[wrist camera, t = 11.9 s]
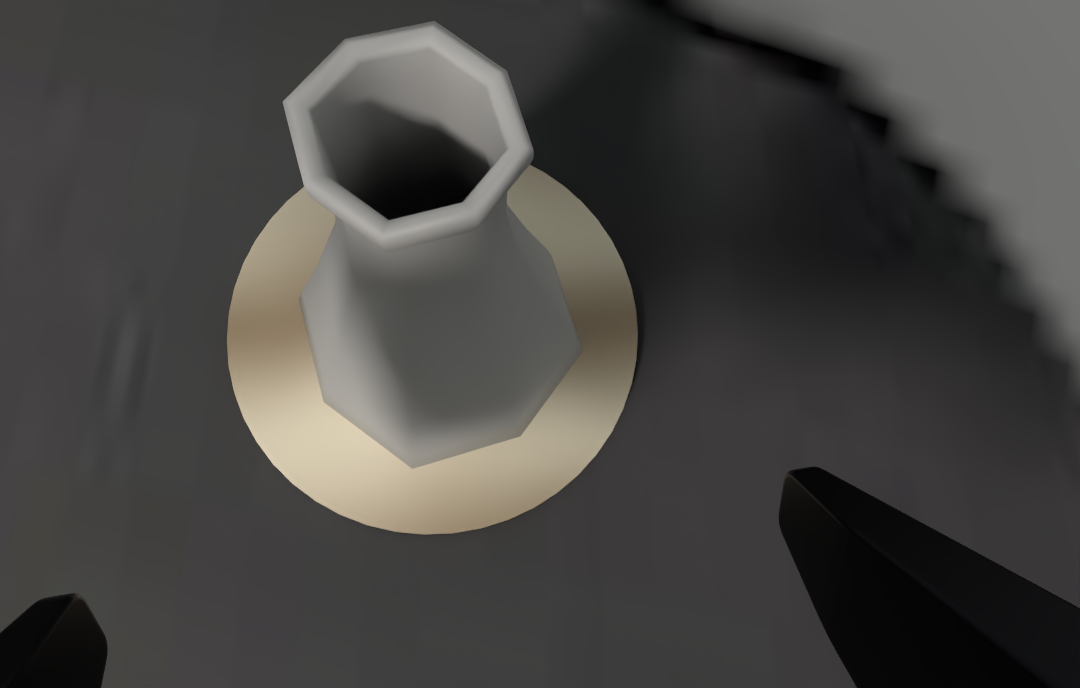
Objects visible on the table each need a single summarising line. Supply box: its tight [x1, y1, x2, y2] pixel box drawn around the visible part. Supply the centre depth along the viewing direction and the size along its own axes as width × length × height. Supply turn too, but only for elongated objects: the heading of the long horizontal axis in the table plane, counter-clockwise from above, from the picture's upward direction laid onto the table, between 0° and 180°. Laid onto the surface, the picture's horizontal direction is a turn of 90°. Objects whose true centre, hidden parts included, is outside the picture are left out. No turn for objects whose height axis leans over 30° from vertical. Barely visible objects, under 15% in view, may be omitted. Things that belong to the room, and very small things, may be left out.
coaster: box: [227, 165, 638, 534], centre depth 19 cm, size 11×11×1 cm
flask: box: [283, 21, 583, 469], centre depth 14 cm, size 7×7×10 cm
